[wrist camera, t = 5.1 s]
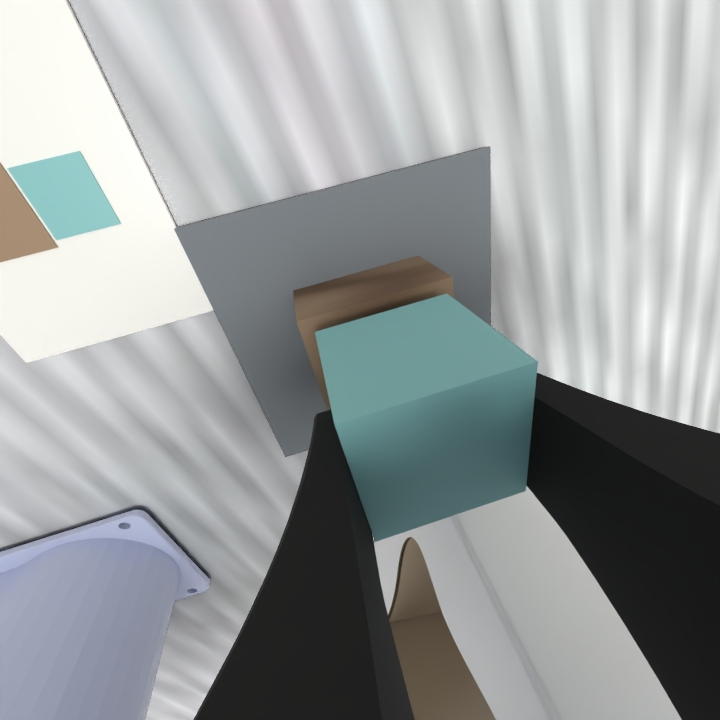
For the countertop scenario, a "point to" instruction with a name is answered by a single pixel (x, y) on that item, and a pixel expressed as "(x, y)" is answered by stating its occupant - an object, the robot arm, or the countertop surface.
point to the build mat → (335, 266)
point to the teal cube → (428, 411)
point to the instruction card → (76, 199)
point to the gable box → (509, 623)
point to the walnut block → (364, 300)
